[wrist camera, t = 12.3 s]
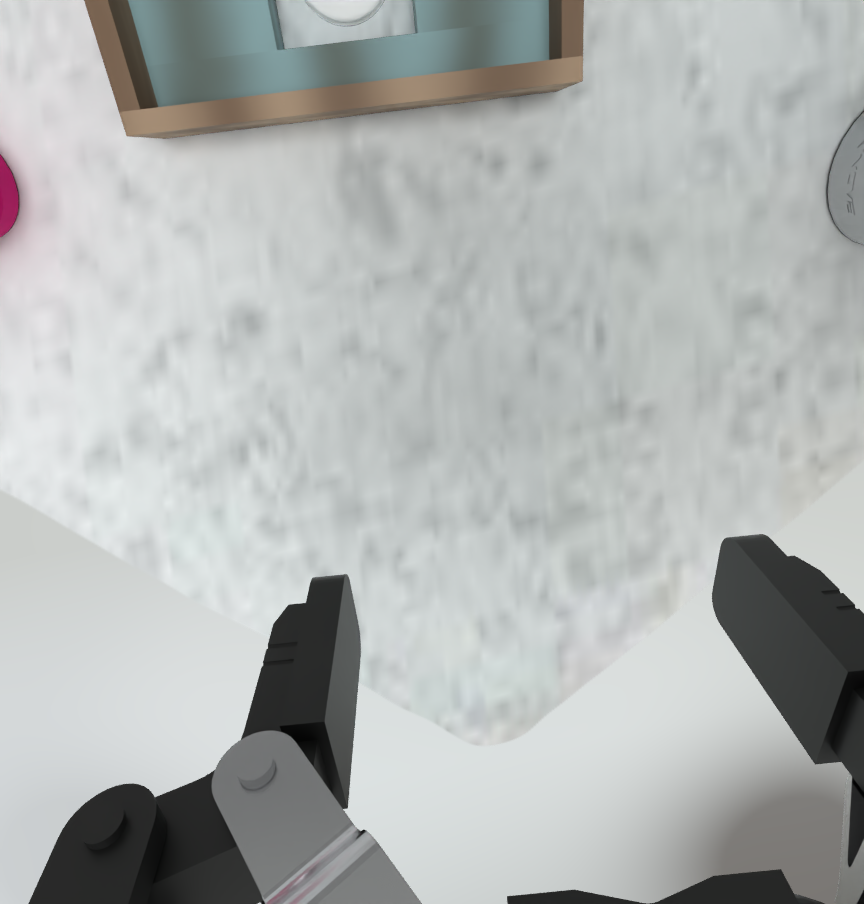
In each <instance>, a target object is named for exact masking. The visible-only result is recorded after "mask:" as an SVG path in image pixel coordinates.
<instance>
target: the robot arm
mask: <svg viewBox="0 0 864 904" xmlns="http://www.w3.org/2000/svg"><path fill="white" fill-rule="evenodd" d="M828 201H829V209H830V212H831V215H832V217H833V220H834V222H835V224H836V225H837V227H838V228H839V229H840V231H841V232H842V233H843V234H844V235H845V236H847V237H848V238H849V239H851V240H852V241H854V242H857V243H860V244H862V245H864V112H863V113H862V114H861V116H860V117H859V118H858V119H857V120H856V121H855V122H854V124H853V125H852V127H851V128H850V130H849V131H848V133H847V134H846V136H845V137H844V139H843V141H842V143H841V145H840V147H839V149H838V151H837V153H836V155H835V158H834V161H833V165H832V168H831V172H830V175H829V184H828ZM712 602H713V608H714V611H715V614H716V617H717V619H718V621H719V623H720V625H721V626H722V627H723V629H724V630H725V632H726V633H727V635H728V636H729V638H730V639H731V641H732V642H733V643H734V645H735V647H736V648H737V650H738V651H739V652H740V654H741V655H742V657H743V659H744V660H745V661H746V663H747V664H748V666H749V667H750V669H751V670H752V672H753V673H754V675H755V676H756V678H757V679H758V681H759V682H760V684H761V685H762V686H763V688H764V690H765V691H766V692H767V694H768V695H769V697H770V698H771V700H772V701H773V703H774V704H775V706H776V707H777V709H778V710H779V711H780V713H781V715H782V716H783V718H784V719H785V721H786V722H787V723H788V725H789V726H790V728H791V729H792V731H793V732H794V734H795V735H796V737H797V738H798V740H799V741H800V743H801V744H802V745H803V747H804V749H805V750H806V751H807V753H808V755H809V756H810V757H811V759H812V760H813V762H814V763H815V764H823V763H833V762H842V763H843V764H844V766H845V767H846V769H847V770H848V771H849V773H850V774H849V776H848V779H847V781H846V787H845V802H844V817H843V834H842V848H841V863H840V877H839V884H838V891H837V895H836V899H835V902H834V904H864V613H863V612H862V611H861V610H860V609H856V608H855V604H853V602H852V601H851V600H850V599H848V597H847V596H845V594H844V593H840V591H839V589H838V588H837V587H836V586H835V585H834V584H833V583H832V582H831V581H830V580H829V579H828V578H827V577H826V576H825V575H824V574H823V573H822V572H821V571H820V570H818V569H816V568H815V567H813V566H811V565H810V564H808V563H806V562H805V561H802V560H801V559H799V558H798V557H796V556H786V555H785V554H784V552H783V551H782V550H781V549H780V548H779V547H778V546H777V545H776V544H775V543H774V542H773V541H772V540H771V539H770V538H769V537H768V536H766V535H763V534H759V535H749V536H739V537H729V538H725V539H724V540H723V542H722V544H721V548H720V553H719V559H718V564H717V570H716V575H715V580H714V586H713V592H712ZM360 656H361V643H360V631H359V625H358V620H357V615H356V610H355V605H354V600H353V595H352V590H351V585H350V580H349V577H348V575H347V574H345V575H335V576H325V577H315V578H312V580H311V583H310V587H309V592H308V596H307V601H306V603H302V604H292V605H288V606H287V607H286V609H285V610H284V611H283V613H282V614H281V615H280V616H279V618H278V619H277V620H276V622H275V623H274V625H273V628H272V632H271V635H270V639H269V643H268V649H267V650H266V654H265V657H264V661H263V667H262V668H261V672H260V676H259V679H258V682H257V686H256V690H255V693H254V697H253V701H252V704H251V708H250V712H249V715H248V719H247V722H246V726H245V730H244V733H243V735H242V738H241V740H240V741H238V742H237V743H236V744H235V745H233V746H232V747H231V748H230V749H229V750H228V751H227V752H226V753H225V754H224V756H223V757H222V758H221V760H220V761H219V763H218V765H217V767H216V769H215V770H214V771H213V772H211V773H210V774H208V775H206V776H205V777H203V778H201V779H199V780H197V781H194V782H192V783H189V784H187V785H185V786H182V787H179V788H177V789H175V790H172V791H170V792H167V793H165V794H162V795H160V796H157V797H154V795H153V794H152V793H151V791H150V790H149V789H147V788H146V787H144V786H141V785H138V784H123V785H119V786H115V787H112V788H109V789H107V790H105V791H103V792H101V793H100V794H98V795H96V796H95V797H93V798H92V799H90V800H89V801H88V802H86V803H85V804H84V805H83V806H82V807H81V808H80V809H79V810H78V811H77V812H75V814H74V815H73V816H72V817H71V818H70V820H69V821H68V822H67V824H66V825H65V827H64V828H63V830H62V832H61V834H60V836H59V837H58V840H57V842H56V844H55V846H54V849H53V851H52V853H51V855H50V857H49V860H48V862H47V864H46V866H45V869H44V871H43V873H42V875H41V877H40V879H39V882H38V884H37V887H36V888H35V891H34V893H33V895H32V897H31V899H30V902H29V904H257V903H259V902H261V904H422V903H421V902H420V901H419V899H418V898H417V896H416V895H415V894H414V892H413V891H412V889H411V888H410V887H409V885H408V884H407V882H406V881H405V880H404V878H403V877H402V876H401V874H400V873H399V871H398V870H397V869H396V867H395V866H394V865H393V863H392V862H391V860H390V859H389V858H388V856H387V855H386V854H385V852H384V851H383V849H382V848H381V847H380V845H379V844H378V842H377V841H376V840H375V839H374V838H373V837H372V835H371V834H370V833H369V832H367V831H366V830H362V831H359V830H358V829H357V828H356V827H355V825H354V824H353V823H352V821H351V820H350V819H349V817H348V816H347V814H346V813H345V811H344V810H343V809H346V808H348V798H349V786H350V775H351V762H352V751H353V738H354V728H355V716H356V704H357V692H358V681H359V669H360ZM507 902H508V904H646V903H639V902H634V901H629V900H624V899H619V898H614V897H609V896H604V895H598V894H593V893H588V892H583V891H578V890H567V891H557V892H547V893H537V894H527V895H516V896H507ZM650 904H824V903H822V902H819V901H816V900H813V899H810V898H807V897H804V896H801V895H797V894H794V893H793V891H792V890H791V888H790V886H789V884H788V882H787V880H786V878H785V876H784V874H783V872H782V871H781V869H780V870H770V871H760V872H750V873H739V874H730V875H719V876H713V877H710V878H709V879H706V880H704V881H702V882H700V883H698V884H695V885H693V886H691V887H689V888H687V889H685V890H682V891H680V892H678V893H676V894H674V895H671V896H669V897H667V898H665V899H663V900H660V901H659V902H655V903H650Z"/></svg>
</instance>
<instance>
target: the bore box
mask: <svg viewBox="0 0 864 904" xmlns="http://www.w3.org/2000/svg"><path fill="white" fill-rule="evenodd" d="M84 1H85V4H86V7H87V11H88V14H89V17H90V20H91V23H92V27H93V30H94V33H95V36H96V39H97V43H98V46H99V49H100V52H101V55H102V59H103V62H104V65H105V68H106V71H107V75H108V78H109V81H110V84H111V87H112V91H113V94H114V97H115V100H116V103H117V107H118V110H119V113H120V116H121V119H122V123H123V126H124V129H125V132H126V135H127V136H132V137H147V138H163V139H166V138H174V137H182V136H191V135H199V134H207V133H216V132H224V131H232V130H240V129H249V128H257V127H265V126H273V125H282V124H290V123H298V122H306V121H315V120H323V119H331V118H340V117H348V116H356V115H364V114H373V113H381V112H389V111H397V110H406V109H414V108H422V107H431V106H439V105H447V104H455V103H464V102H472V101H480V100H488V99H497V98H505V97H513V96H521V95H530V94H538V93H546V92H555V91H559V90H561V89H564V88H566V87H569V86H571V85H574V84H576V83H579V82H581V81H583V12H584V0H412V1H413V11H414V21H415V31H416V33H415V34H407V35H399V36H390V37H382V38H374V39H366V40H357V41H349V42H341V43H333V44H324V45H316V46H308V47H300V48H292V49H284V44H283V39H282V34H281V28H280V23H279V18H278V12H277V7H276V2H275V0H84Z"/></svg>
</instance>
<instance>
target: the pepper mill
mask: <svg viewBox="0 0 864 904" xmlns="http://www.w3.org/2000/svg"><path fill="white" fill-rule="evenodd" d="M17 213H18V191H17V187H16V184H15V181H14V178H13V175H12V173H11V171H10V169H9V168H8V166H7V164H6V163H5V161H4V160H3V158H2V157H1V155H0V237H1V236H3V235H4V234H6V233H7V232H8V231H9V230H10V228H11V227H12V226H13V224H14V222H15V220H16V217H17Z"/></svg>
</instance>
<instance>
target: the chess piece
mask: <svg viewBox="0 0 864 904" xmlns="http://www.w3.org/2000/svg"><path fill="white" fill-rule="evenodd" d="M305 1H306V3H307V4H308V5H309V7H310V8H311V9H312V10H313V11H314V12H315V13H316V14H317V15H318V16H320V17H321V18H323V19H324V20H326V21H328V22H330V23H332V24H336V25H340V26H352V25H357V24H360V23H362V22H364V21H366V20H368V19H369V18H370V17H372V16H373V15H374V14H375V13H376V12H377V11H378V9H379V8H380V7H381V5H382V4H383V2H384V0H305Z"/></svg>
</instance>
